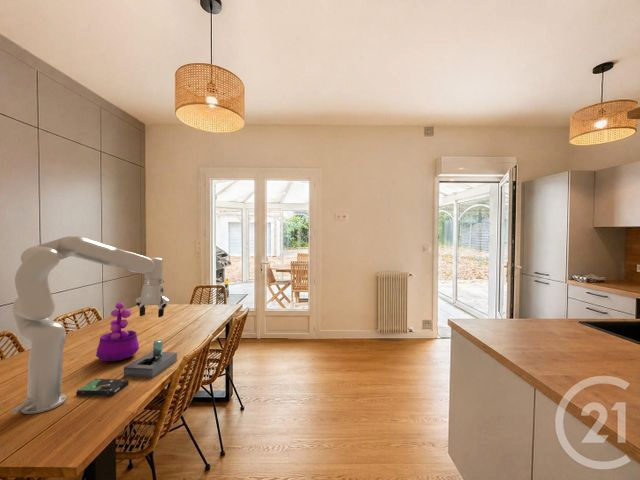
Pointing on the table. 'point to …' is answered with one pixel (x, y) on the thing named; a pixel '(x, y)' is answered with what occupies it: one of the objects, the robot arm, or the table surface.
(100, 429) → the table surface
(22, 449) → the table surface
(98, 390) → the disk drive
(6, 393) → the table surface
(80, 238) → the robot arm
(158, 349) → the teal rounded piece
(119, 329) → the decorative plant
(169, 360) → the keyhole deck
